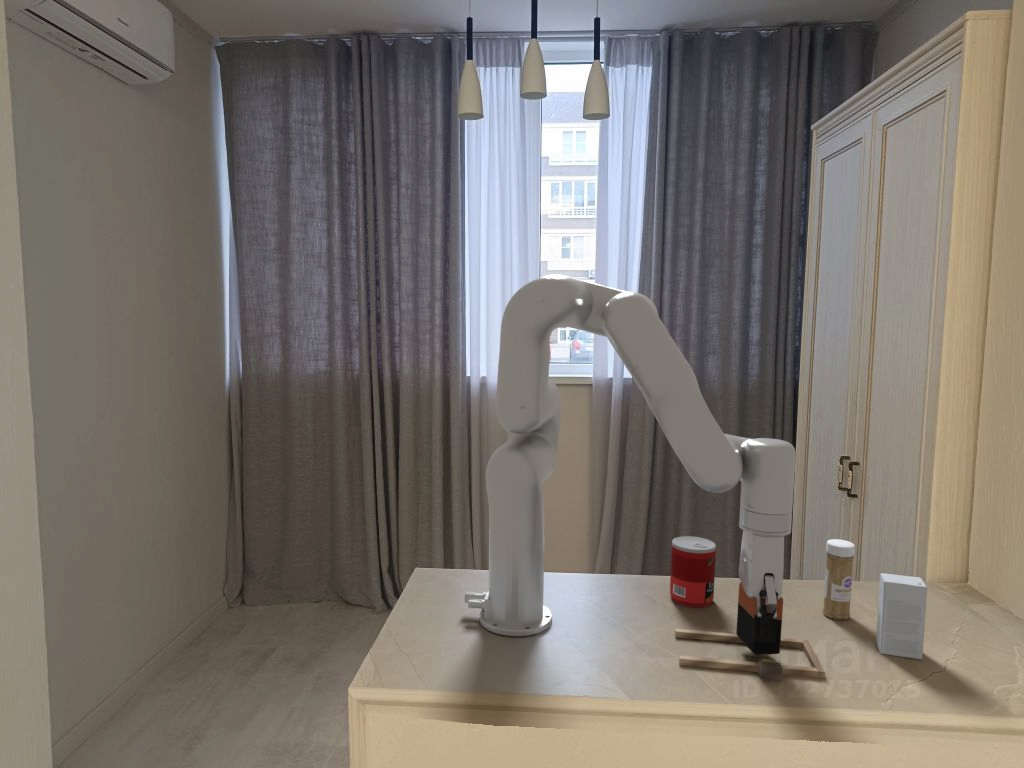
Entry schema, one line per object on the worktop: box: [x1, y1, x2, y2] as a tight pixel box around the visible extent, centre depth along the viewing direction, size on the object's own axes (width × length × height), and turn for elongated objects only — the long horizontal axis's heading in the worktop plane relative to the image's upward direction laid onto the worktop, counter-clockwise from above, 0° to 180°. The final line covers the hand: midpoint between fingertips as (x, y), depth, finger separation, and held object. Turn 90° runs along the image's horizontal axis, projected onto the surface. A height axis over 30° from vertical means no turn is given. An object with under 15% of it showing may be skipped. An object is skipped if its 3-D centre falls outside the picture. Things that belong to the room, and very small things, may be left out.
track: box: [674, 628, 826, 682], centre depth 107 cm, size 21×12×2 cm, turn 80°
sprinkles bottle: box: [822, 538, 856, 621], centre depth 122 cm, size 5×5×13 cm
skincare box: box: [876, 572, 928, 660], centre depth 110 cm, size 6×4×12 cm
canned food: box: [669, 535, 717, 608], centre depth 128 cm, size 8×8×11 cm
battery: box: [735, 581, 784, 656], centre depth 107 cm, size 4×7×10 cm, turn 6°
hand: (758, 628), depth 108 cm, fingers closed on battery, 7 cm apart
